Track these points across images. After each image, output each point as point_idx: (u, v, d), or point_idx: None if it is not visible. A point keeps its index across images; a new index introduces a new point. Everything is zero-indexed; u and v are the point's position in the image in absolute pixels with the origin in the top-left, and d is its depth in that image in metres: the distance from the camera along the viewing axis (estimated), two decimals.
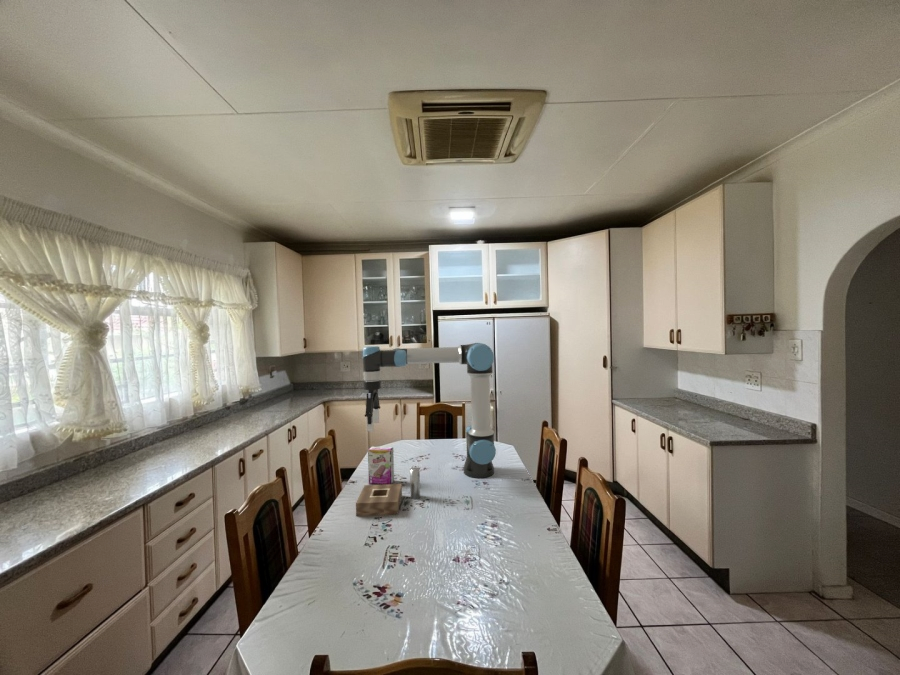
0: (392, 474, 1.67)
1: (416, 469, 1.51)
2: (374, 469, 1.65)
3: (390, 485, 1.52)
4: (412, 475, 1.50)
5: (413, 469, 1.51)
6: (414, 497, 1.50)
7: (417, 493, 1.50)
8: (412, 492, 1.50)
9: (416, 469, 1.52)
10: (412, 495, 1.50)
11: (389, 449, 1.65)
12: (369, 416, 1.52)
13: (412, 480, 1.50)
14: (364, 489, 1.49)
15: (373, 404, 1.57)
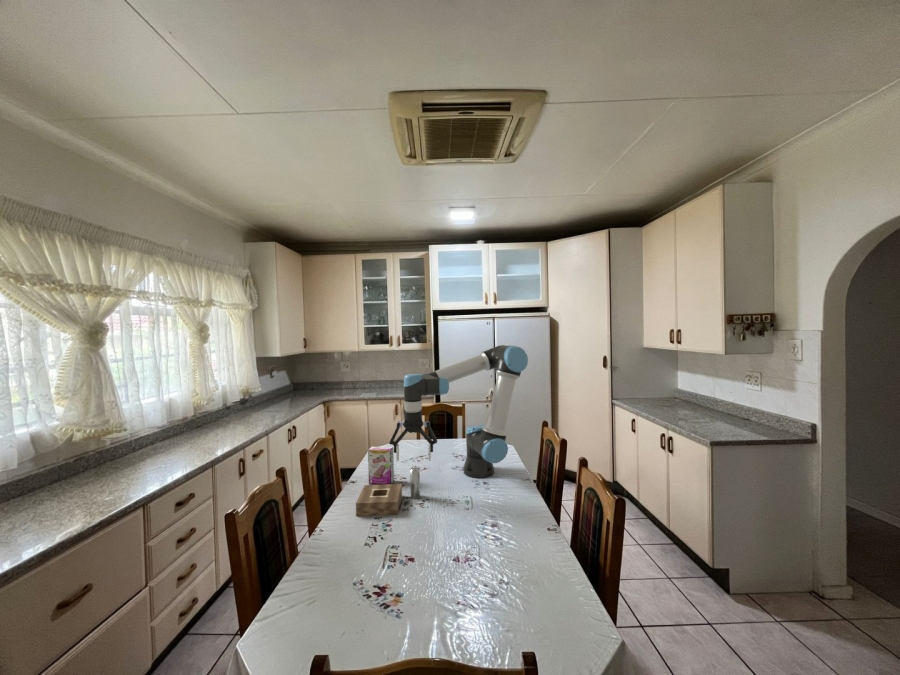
0: (392, 474, 1.67)
1: (416, 469, 1.51)
2: (374, 469, 1.65)
3: (390, 485, 1.52)
4: (412, 475, 1.50)
5: (413, 469, 1.51)
6: (414, 497, 1.50)
7: (417, 493, 1.50)
8: (412, 492, 1.50)
9: (416, 469, 1.52)
10: (412, 495, 1.50)
11: (389, 449, 1.65)
12: (393, 444, 1.51)
13: (412, 480, 1.50)
14: (364, 489, 1.49)
15: (403, 435, 1.50)
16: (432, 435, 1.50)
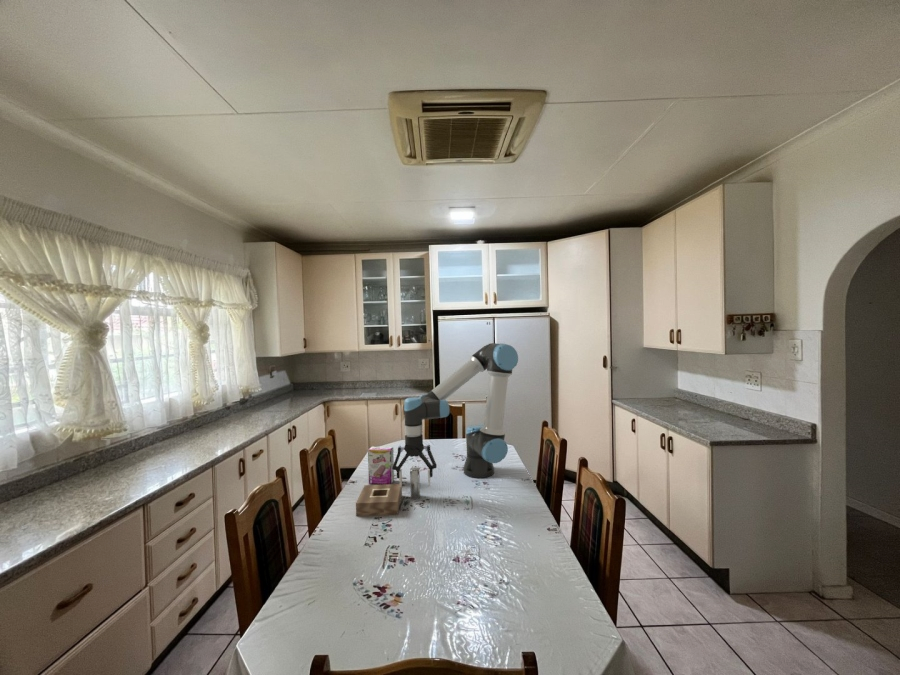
0: (392, 474, 1.67)
1: (416, 469, 1.51)
2: (374, 469, 1.65)
3: (390, 485, 1.52)
4: (412, 475, 1.50)
5: (413, 469, 1.51)
6: (414, 497, 1.50)
7: (417, 493, 1.50)
8: (412, 492, 1.50)
9: (416, 469, 1.52)
10: (412, 495, 1.50)
11: (389, 449, 1.65)
12: (396, 469, 1.51)
13: (412, 480, 1.50)
14: (364, 489, 1.49)
15: (404, 459, 1.50)
16: (432, 460, 1.51)
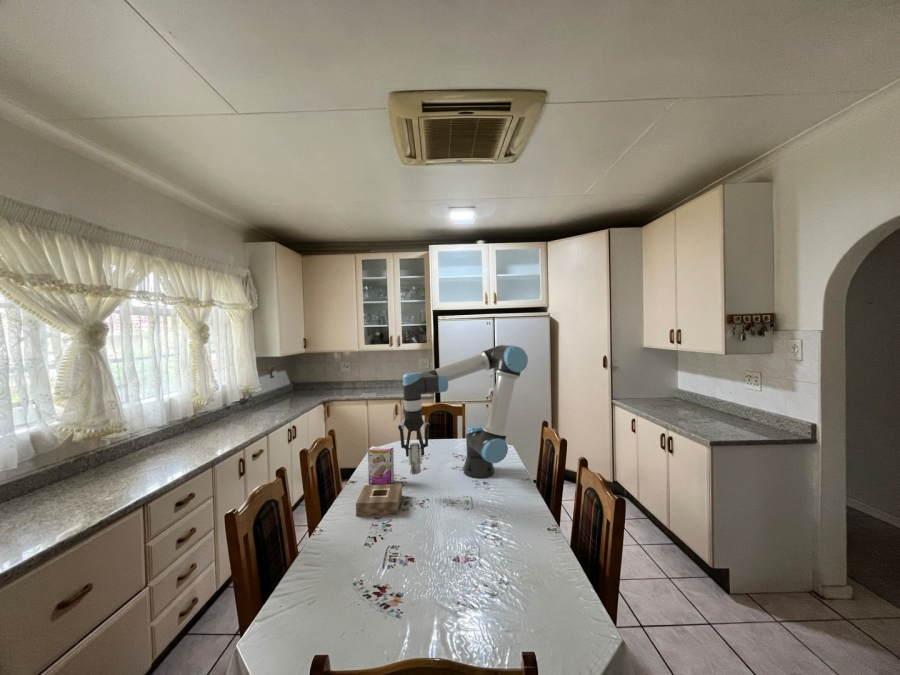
0: (392, 474, 1.67)
1: (416, 444, 1.51)
2: (374, 469, 1.65)
3: (390, 485, 1.52)
4: (412, 450, 1.50)
5: (413, 444, 1.51)
6: (415, 472, 1.50)
7: (418, 468, 1.50)
8: (412, 467, 1.50)
9: (416, 444, 1.52)
10: (413, 470, 1.50)
11: (389, 449, 1.65)
12: None
13: (412, 455, 1.50)
14: (364, 489, 1.49)
15: (409, 436, 1.50)
16: (426, 438, 1.50)
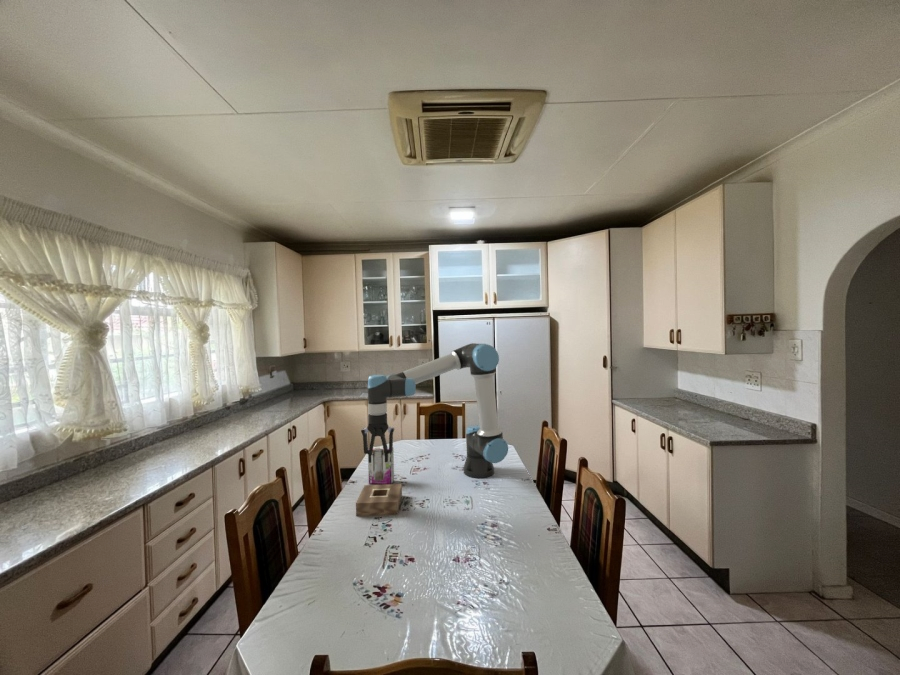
0: (392, 474, 1.67)
1: (380, 450, 1.45)
2: None
3: (390, 485, 1.52)
4: (375, 456, 1.43)
5: (377, 450, 1.45)
6: (377, 479, 1.43)
7: (380, 475, 1.43)
8: (375, 474, 1.43)
9: (380, 450, 1.45)
10: (375, 477, 1.43)
11: None
12: (368, 453, 1.45)
13: (375, 461, 1.43)
14: (364, 489, 1.49)
15: (372, 441, 1.44)
16: (390, 443, 1.44)
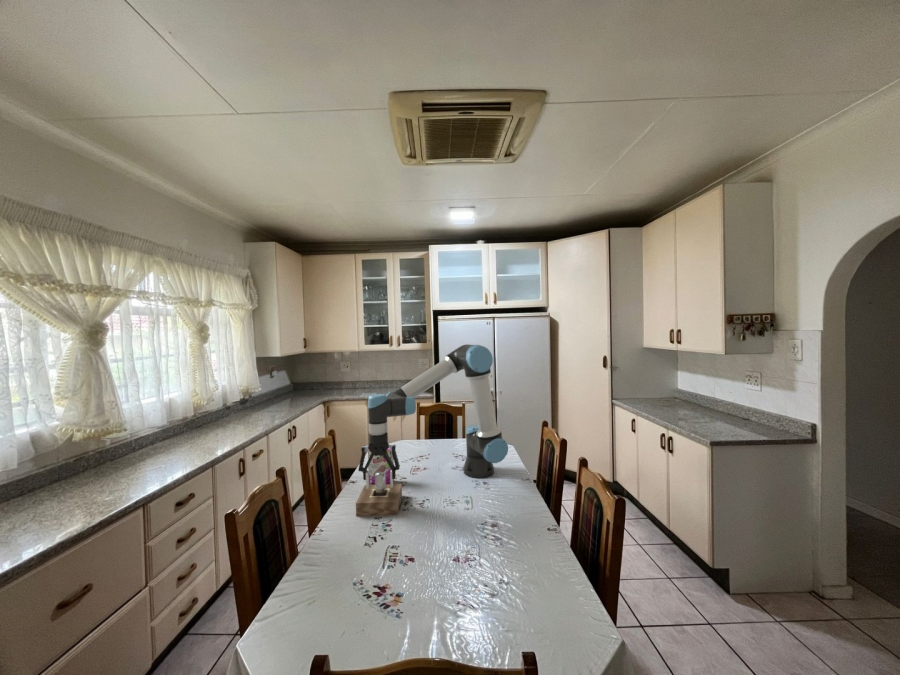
0: None
1: (382, 473, 1.45)
2: (374, 469, 1.65)
3: None
4: (377, 479, 1.44)
5: (378, 473, 1.45)
6: None
7: None
8: None
9: (382, 473, 1.46)
10: None
11: (389, 449, 1.65)
12: None
13: (377, 484, 1.44)
14: (364, 489, 1.49)
15: (370, 459, 1.44)
16: (395, 461, 1.44)
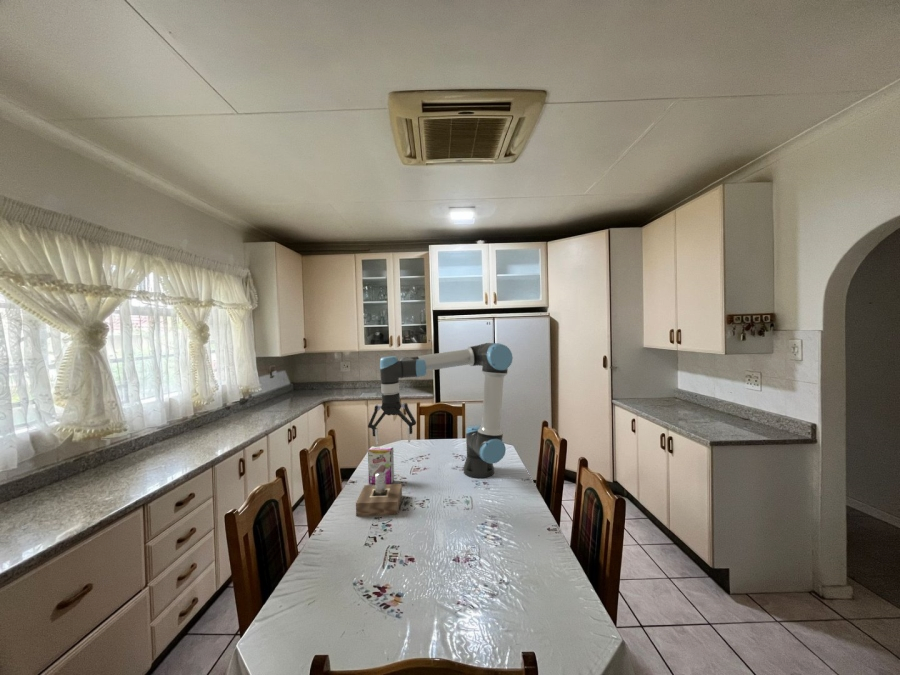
0: (392, 474, 1.67)
1: (382, 473, 1.45)
2: (374, 469, 1.65)
3: (390, 485, 1.52)
4: (377, 480, 1.43)
5: (378, 473, 1.45)
6: None
7: None
8: None
9: (381, 473, 1.45)
10: None
11: (389, 449, 1.65)
12: None
13: (377, 485, 1.44)
14: (364, 489, 1.49)
15: (381, 418, 1.49)
16: (410, 417, 1.50)
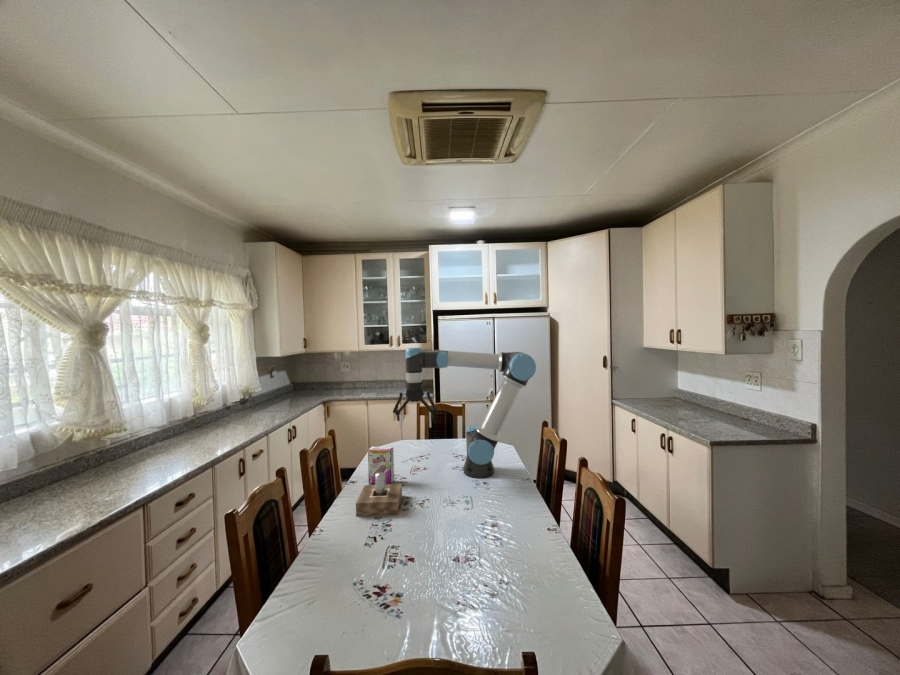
0: (392, 474, 1.67)
1: (382, 473, 1.45)
2: (374, 469, 1.65)
3: (390, 485, 1.52)
4: (377, 480, 1.43)
5: (379, 473, 1.45)
6: None
7: None
8: None
9: (382, 473, 1.45)
10: None
11: (389, 449, 1.65)
12: (396, 413, 1.63)
13: (377, 485, 1.44)
14: (364, 489, 1.49)
15: (405, 404, 1.62)
16: (432, 404, 1.62)
